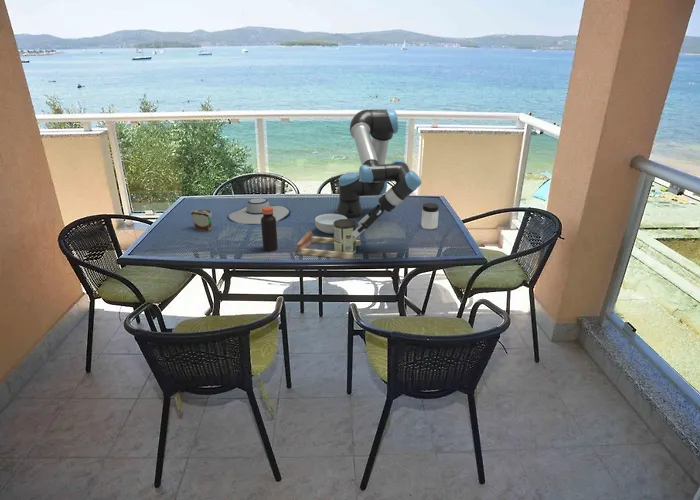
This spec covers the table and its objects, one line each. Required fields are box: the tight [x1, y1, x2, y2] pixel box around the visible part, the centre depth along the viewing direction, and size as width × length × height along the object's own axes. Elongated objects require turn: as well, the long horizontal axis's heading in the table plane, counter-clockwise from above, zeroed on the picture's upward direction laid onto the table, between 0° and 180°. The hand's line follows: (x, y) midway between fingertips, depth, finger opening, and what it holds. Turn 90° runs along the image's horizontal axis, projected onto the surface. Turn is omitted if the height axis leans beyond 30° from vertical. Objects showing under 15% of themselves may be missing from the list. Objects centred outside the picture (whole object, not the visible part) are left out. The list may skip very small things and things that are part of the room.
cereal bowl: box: [314, 213, 348, 235], centre depth 232 cm, size 17×17×7 cm
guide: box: [296, 230, 361, 260], centre depth 210 cm, size 26×17×5 cm, turn 78°
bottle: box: [260, 207, 279, 252], centre depth 209 cm, size 7×7×20 cm
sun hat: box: [227, 197, 292, 226], centre depth 258 cm, size 36×36×9 cm
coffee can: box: [333, 218, 357, 254], centre depth 207 cm, size 10×10×14 cm
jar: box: [420, 202, 439, 230], centre depth 237 cm, size 9×8×12 cm
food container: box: [190, 208, 213, 233], centre depth 236 cm, size 12×6×10 cm, turn 65°
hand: (356, 230), depth 203 cm, fingers open, 13 cm apart
